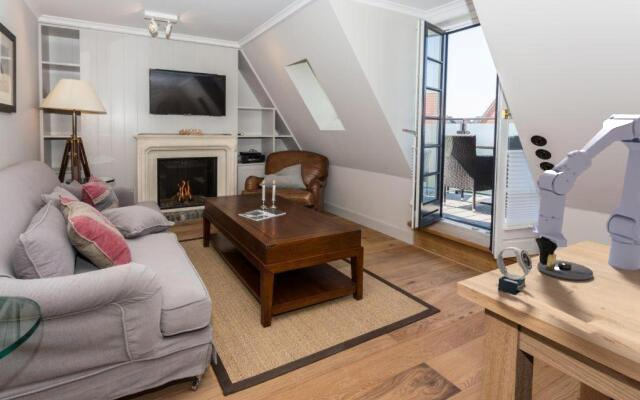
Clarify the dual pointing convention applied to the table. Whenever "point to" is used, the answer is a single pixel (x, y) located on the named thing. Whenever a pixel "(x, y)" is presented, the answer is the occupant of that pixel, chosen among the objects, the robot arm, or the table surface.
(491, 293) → the table surface
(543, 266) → the handwheel
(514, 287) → the watch
